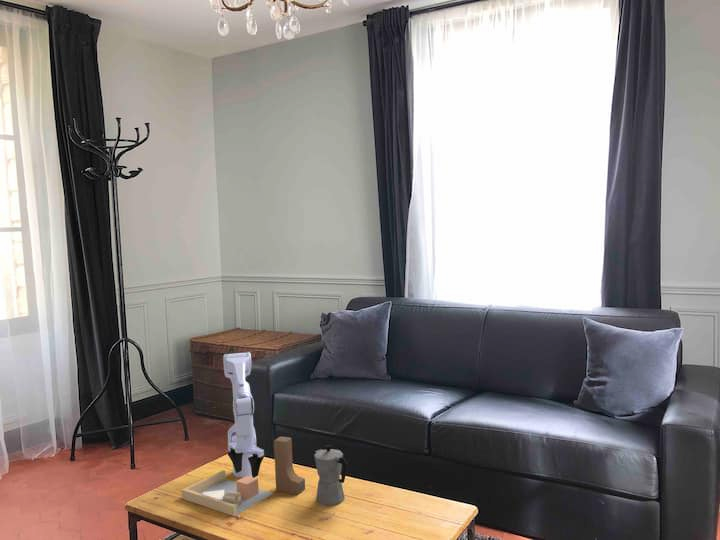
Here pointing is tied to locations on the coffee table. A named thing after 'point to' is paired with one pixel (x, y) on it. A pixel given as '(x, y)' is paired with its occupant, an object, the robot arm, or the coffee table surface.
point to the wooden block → (286, 468)
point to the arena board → (221, 483)
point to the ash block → (233, 498)
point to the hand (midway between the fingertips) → (246, 474)
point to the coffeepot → (330, 476)
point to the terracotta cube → (247, 487)
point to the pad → (215, 494)
